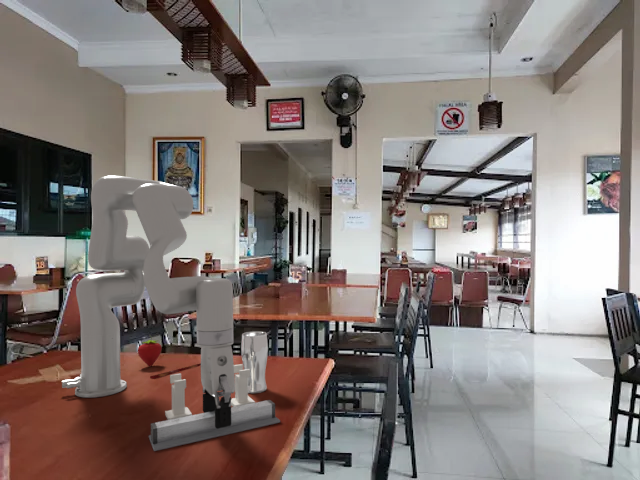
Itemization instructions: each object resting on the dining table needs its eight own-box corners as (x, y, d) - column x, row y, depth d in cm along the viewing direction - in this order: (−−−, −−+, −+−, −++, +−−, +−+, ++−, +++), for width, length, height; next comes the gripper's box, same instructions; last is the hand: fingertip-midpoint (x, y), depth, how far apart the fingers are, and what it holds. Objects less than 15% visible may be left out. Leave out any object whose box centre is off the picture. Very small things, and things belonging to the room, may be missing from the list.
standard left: (169, 422, 97) (168, 382, 97) (164, 413, 102) (164, 375, 102) (192, 418, 99) (191, 378, 99) (186, 409, 104) (186, 372, 104)
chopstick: (216, 361, 149) (216, 359, 149) (154, 380, 130) (153, 377, 130) (213, 361, 150) (212, 358, 150) (150, 379, 131) (149, 376, 131)
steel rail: (153, 444, 85) (153, 428, 85) (150, 438, 88) (150, 423, 88) (275, 417, 98) (275, 403, 98) (270, 412, 100) (269, 399, 100)
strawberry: (135, 366, 143) (134, 335, 144) (158, 362, 148) (157, 332, 148) (141, 370, 139) (140, 338, 139) (164, 365, 144) (164, 335, 144)
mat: (153, 451, 83) (153, 449, 83) (148, 437, 89) (148, 435, 89) (280, 422, 96) (280, 420, 96) (268, 411, 102) (268, 410, 102)
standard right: (235, 409, 104) (234, 372, 104) (227, 401, 109) (227, 366, 109) (255, 405, 106) (254, 368, 106) (247, 398, 112) (246, 363, 112)
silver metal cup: (263, 394, 114) (262, 336, 114) (237, 393, 115) (237, 336, 115) (271, 386, 121) (270, 331, 121) (247, 385, 122) (246, 330, 122)
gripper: (246, 342, 87) (247, 429, 87) (221, 328, 102) (222, 402, 102) (208, 347, 83) (209, 438, 83) (188, 332, 99) (189, 409, 98)
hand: (216, 418), depth 93 cm, fingers open, 9 cm apart
